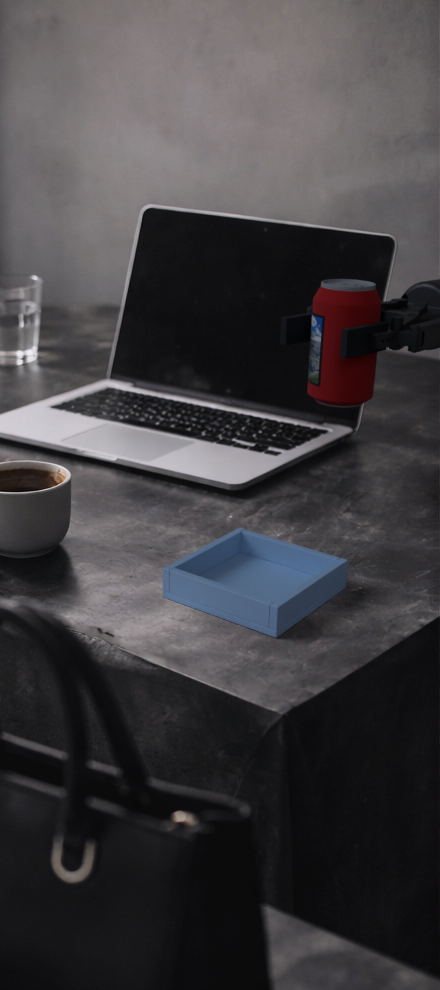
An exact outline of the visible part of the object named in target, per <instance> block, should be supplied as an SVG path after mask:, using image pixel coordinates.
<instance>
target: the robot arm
mask: <svg viewBox="0 0 440 990" xmlns="http://www.w3.org/2000/svg"><path fill="white" fill-rule="evenodd" d="M312 309H313V305H309V306H307V307H306V311H307V312H306V313H299V314H294V315H293V314H292V315H288V316H282V317H281V319H280V320H281V321H280V338H279V345H280V346H291V345H296V344H301V343H306V342H310V338H311V322H312ZM405 347H407V351H408V352H410V353H412V354H416V353H420V352H424V351H432V350H433V351H435V350H437V349H440V278H438V279H432V280H424V281H419V282H417V283H414V284H411V286H409V287H408V288H407V289H406V290H405V291H404V293H403V294H402V296H400V297H399V298H391V299H390V300H387V301H381V314H380V322H377V323H371V324H366V325H361V326H355V327H350V328H345V329H342V332H341V345H340V358H345V359H347V358H352V357H356V356H361V355H365V354H370V353H374V352H377V353H379V352H383V351H386V350H387V349H390V350H392V351H400V350H403V348H405Z"/></svg>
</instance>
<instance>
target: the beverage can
mask: <svg viewBox="0 0 440 990" xmlns="http://www.w3.org/2000/svg"><path fill="white" fill-rule="evenodd" d="M376 287H377V284H376V283H375V282H372V281H369V280H362V279H351V278H331V279H324V280H322V281H321V283H320V286H319V288H318V289H317V290H316V293H315V295H314V296H313V298H312V306H313V309H312V322H311V338H310V341H309V355H308V370H307V371H308V374H307V376H308V377H307V394H308V395H309V396H310V397H311V398H312V399H314V400H315V402H316V403H318V404H320V405H323V406H325V407H333V408H342V409H343V408H345V409H347V408H357V407H360V406H363V404H365V403H366V402H369V401H370V400H372V399H373V397H374V390H375V382H376V371H377V361H378V360H377V359H378V352H374V353H370V354H365V355H361V356H356V357H352V358H347V359H345V358H340V345H341V332H342V329H345V328H350V327H355V326H361V325H366V324H371V323H377V322H380V314H381V302H382V300H381V297H380V295H379V293H378V290H377V288H376Z"/></svg>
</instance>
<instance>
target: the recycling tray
mask: <svg viewBox="0 0 440 990" xmlns="http://www.w3.org/2000/svg"><path fill="white" fill-rule="evenodd" d="M348 564H349V560H348V559H347V558H342V557H340V556H335V555H332V554H329V553H326V552H321V551H319V550H315V549H312V548H309V547H305V546H304V545H303V546H302V545H299V544H296V543H293V542H289V541H286V540H282V539H279V538H276V537H273V536H269V535H266V534H262V533H258V532H255V531H252V530H248V529H246V528H241V527H238V528H236V529H234V530H232V531H230V532H229V533H226V534H224V535H223V536H220V537H219V538H217V539H215V540H213V541H211V542H209V543H208V544H206V545H204V546H202V547H199V548H198V549H197V550H194V551H192V552H191V553H189V554H187V555H185V556H183V557H182V558H180V559H177V560H176V561H174V562H172V563H170V564H168V565H166V566H164V567H163V568H162V598H164V599H167V600H170V601H172V602H176V603H178V604H181V605H184V606H187V607H188V608H189V607H190V608H192V609H195V610H197V611H200V612H203V613H206V614H208V615H212V616H214V617H216V618H219V619H223V620H225V621H228V622H231V623H233V624H236V625H239V626H241V627H244V628H247V629H250V630H253V631H256V632H258V633H261V634H263V635H266V636H269V637H272V638H274V639H277V638H278V637H280V636H281V635H283V634H284V633H285V632H286V631H288V630H290V629H291V628H292V627H294V626H295V625H296V624H298V623H299V622H301V621H302V620H303V619H305V618H306V617H308V616H309V615H310V614H312V613H313V612H314V611H316V610H317V609H319V608H320V607H321V606H322V605H324V604H326V603H327V602H329V601H330V600H332V598H334V597H335V596H336V595H338V594H339V593H341V592H342V591H344V590H345V589H346V588H347V575H348Z"/></svg>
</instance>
